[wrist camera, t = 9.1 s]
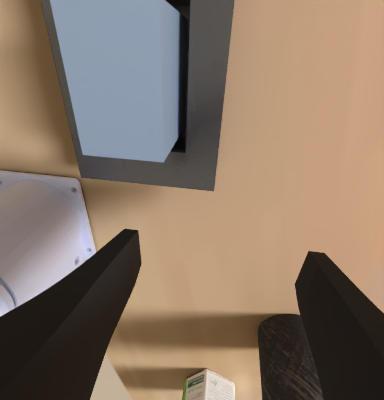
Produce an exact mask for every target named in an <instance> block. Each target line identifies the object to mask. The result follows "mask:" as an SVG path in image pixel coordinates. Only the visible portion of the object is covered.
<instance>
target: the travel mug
mask: <svg viewBox="0 0 384 400" xmlns="http://www.w3.org/2000/svg"><path fill="white" fill-rule="evenodd" d="M258 344H259V359H260V372H261V386H262V400H323V395H322V390H321V385H320V380H319V377H318V373H317V369H316V365H315V362H314V359H313V355H312V352H311V349H310V345H309V342H308V338H307V335H306V332H305V328H304V325H303V321H302V318H301V316H300V315H293V314H285V315H277V316H274V317H271V318H268V319H266V320H265V321H264V322H262V323H261V325H260V326H259V329H258Z"/></svg>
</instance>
